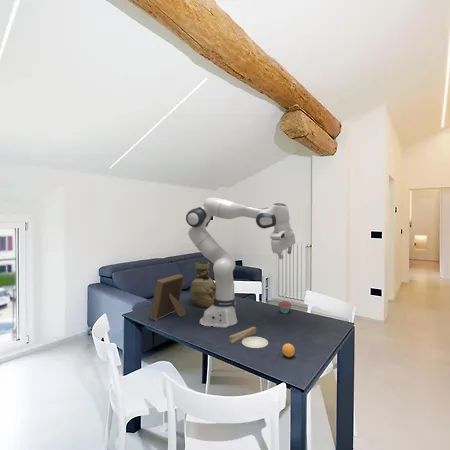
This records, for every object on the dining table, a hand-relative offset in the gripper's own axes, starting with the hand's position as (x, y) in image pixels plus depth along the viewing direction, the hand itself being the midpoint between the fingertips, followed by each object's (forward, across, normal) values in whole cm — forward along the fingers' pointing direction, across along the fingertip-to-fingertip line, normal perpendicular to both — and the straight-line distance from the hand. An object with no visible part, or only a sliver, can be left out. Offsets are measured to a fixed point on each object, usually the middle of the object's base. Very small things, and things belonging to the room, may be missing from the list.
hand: (285, 256), depth 161 cm
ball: (+31, +36, +18) cm, 51 cm away
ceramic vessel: (+40, +7, -67) cm, 78 cm away
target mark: (+34, +35, -2) cm, 48 cm away
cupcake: (+44, -14, -13) cm, 48 cm away
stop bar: (+34, +34, -10) cm, 49 cm away
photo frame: (+34, +38, -65) cm, 82 cm away
